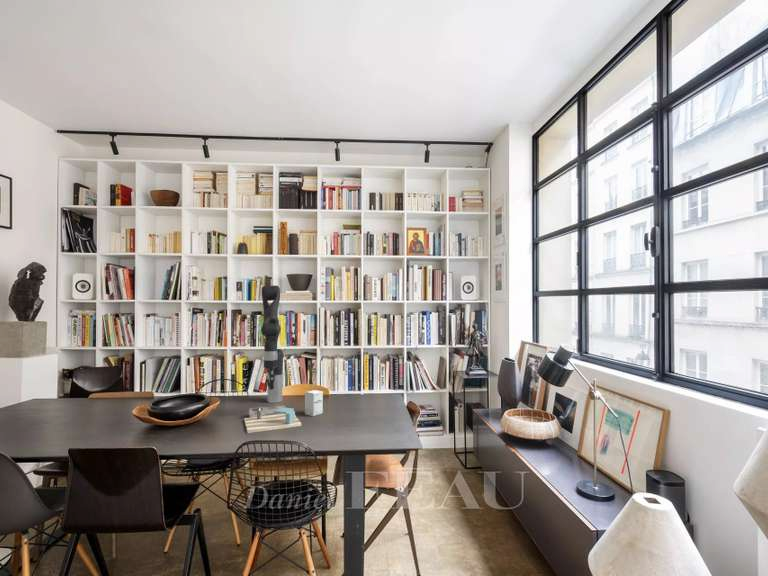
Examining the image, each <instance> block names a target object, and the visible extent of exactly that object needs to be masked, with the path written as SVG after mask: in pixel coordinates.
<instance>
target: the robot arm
mask: <svg viewBox="0 0 768 576" xmlns="http://www.w3.org/2000/svg"><path fill="white" fill-rule="evenodd" d="M261 299H262V300H261V301H262V308H263V324H262V325H261V328H260V332H261V335H263V336H264V340H265V341H264V345H263V346H264V347H263V348H264V349H263V350H264V352H263V368H264V369H266V380H267V384H266V385H267V399H266V400H267V401H266V402H267V403H270V404H275V403H280V402H281V403H282V401H283V369H284V350H282V349H278V341H279V336H280V333H281V331H282V330H281V329H282V328H281V325H280V319H279V318H278V313H279V312H278V311H279V306H280V301H281V300H280V299H281V288H280V286H279V285H262V288H261ZM269 301H272V302H271V303H269Z"/></svg>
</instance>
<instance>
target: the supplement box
mask: <svg viewBox="0 0 768 576" xmlns="http://www.w3.org/2000/svg"><path fill="white" fill-rule="evenodd" d="M323 399H324V391H322V390H318V389H317V390H316V389H313V390H309V391H305V392H304V415H306V416H310V417H314V416H315V417H316V416H318V415H322V414H323V412H324V411H323V410H324V409H323V407H324V406H323V405H324V404H323V403H324V400H323Z"/></svg>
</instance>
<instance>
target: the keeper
mask: <svg viewBox="0 0 768 576" xmlns="http://www.w3.org/2000/svg"><path fill="white" fill-rule="evenodd" d="M294 409H295V408H291V407H286V408H283V407H281V408H279V409H277V410H275V411H274V413H281V414H286V424H291V423H293V422H294V421H295V416H296V411H295V410H294Z"/></svg>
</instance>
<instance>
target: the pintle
mask: <svg viewBox="0 0 768 576" xmlns="http://www.w3.org/2000/svg"><path fill="white" fill-rule="evenodd" d="M261 407H262V406H257V407H256V408H257V419H261Z"/></svg>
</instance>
